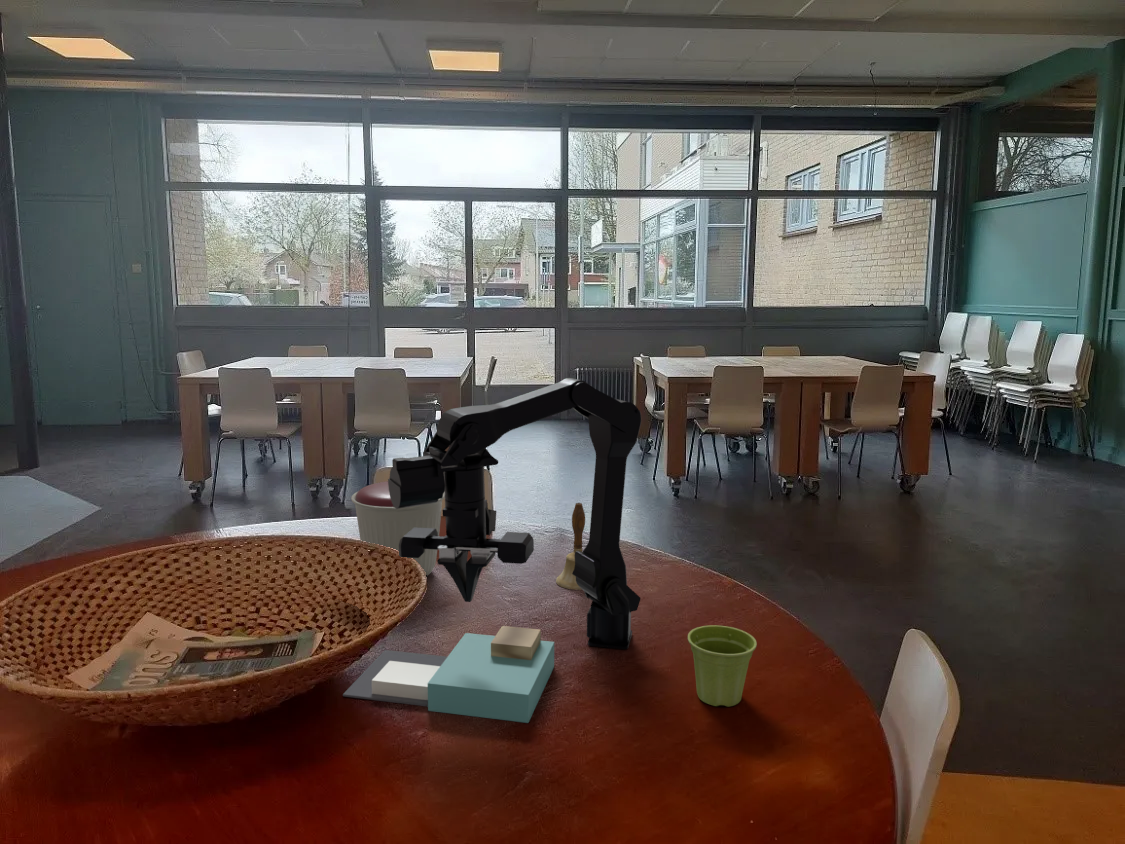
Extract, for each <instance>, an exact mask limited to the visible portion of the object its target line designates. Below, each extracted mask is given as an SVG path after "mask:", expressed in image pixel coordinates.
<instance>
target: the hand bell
mask: <svg viewBox="0 0 1125 844" xmlns="http://www.w3.org/2000/svg"><path fill="white" fill-rule="evenodd" d="M585 524H586V513H585V509H584V506H583V503H581V502H576V503H575V504H574V508H573V511H572V514H571V526H572V527H571V528H572V531H573V535H574V536H573V550H572V552H570V553H568V554H567V555H566V557H565V558H566V559H565V563H564V567H563V570H562V572H561V573H560V574H559V575H558V576H557V578H556V579H555V583H556V584H557V585H558V586H559V587H561V588H564V589H566V590H572V591H573V590H577V591H581V590H582V589H581V588H580V587H579V586H578V585H577V583H576V576H574V575H573V574H572V573H573V570H574V567H575V552H576V551H582V552H583V547H584V546H583V533H584V530H585V527H586V525H585ZM582 591H583V590H582Z"/></svg>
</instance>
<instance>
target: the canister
mask: <svg viewBox="0 0 1125 844" xmlns="http://www.w3.org/2000/svg"><path fill="white" fill-rule="evenodd" d="M388 479H390V476H389V477H388ZM350 498H351V502H352V503H353V504H354V506H355V512H356V513H355V515H356V520H357V526H358V533H359V534H358V535H359V539H360V540H362V541H366V542H370V543H375V544H379V545H383V546H386V547H390V548H393V549H396V550H398V551H399V542H400V539H401V538H402V537H403V536H405V535H406V534H407V533H408V532H409V531H411V530H412V529H413V528H435V529H436V530H437V532H438V536H440V529H441V518H442V510H443V509H442V507H443V500H445V493H443V497H442V498H440V499H439V500H438V501H437V502H436V503H431V504H425V505H418V506H412V507H405V508H399V509H396V508H395V507H394V506H393V504H392V501H391V498H390V494H389V487H388V480H387V481H381V482H376V483H372V484H369V485H366V486H364V487H362V488H361V489H359V490H358V491H356V492H354V493H353V494H352V495H351V497H350ZM360 540H359V541H360ZM437 556H438V550H436V549H425V552H424V553H423V554H422V555H421V556H420V557H419V558H413V559H415V560H416V561H417V562H418V563H419V564H420V565H421V567H422V568H423V569H424V571H425V572H426V575H427V576H426V577H428V576H429V575H430V574H431V573H432V572H433V571H434V569H435V565H436V562H437Z"/></svg>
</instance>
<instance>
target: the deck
mask: <svg viewBox="0 0 1125 844" xmlns="http://www.w3.org/2000/svg"><path fill="white" fill-rule="evenodd" d="M495 636H496V635H489V634H478V633H469V632H465V633H464V635H463V636H462V637H461V638H460V640H459V641H458V643H457V644H456V645H455V646H454V648H453V649H452V651H451V652H450V653H449V654H448V655H447V658H446V660H445V661H444V662H443V664H442V665H441V666H440V668H439V669H438V670H437V671H436V673H435V674H434V675H433V677H432V678H431V679H430V681H429V682H428V706H427V711H428V712H437V713H444V714H452V715H460V716H461V715H462V716H469V717H475V718H485V719H491V720H492V719H493V720H501V721H509V722H517V723H525V724H529V722H530V721H531V718H532V716H533V714H534V711H535V709H536V707H537V705H538V703H539V701H540V699H541V696H542V695H543V692H544V690H545V688H546V685H547V683H548V681H549V679H550V676H551V675H552V672H553V670H554V668H555V641H550V640H549V641H548V640H541V642H540V644H539V646H538V648H537V650H536V652H535V654H534V656H533V658H532V659H531V660H525V659H515V658H506V657H496V656H491V642H492V640H493V639H494V637H495Z"/></svg>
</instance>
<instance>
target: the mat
mask: <svg viewBox="0 0 1125 844" xmlns="http://www.w3.org/2000/svg"><path fill="white" fill-rule="evenodd" d="M447 657H448V655H447V656H445V655H437V654H426V653H417V652H410V651H409V652H406V651H398V650H388V649H384V650H383V651H382V652H381V654H379V656H378V657H377V658H376V659H375V660H374V661H373V662H372V663H371V664H370V665H369V666H368V667H367V668H366V669H365V670H364V672H363V673H362V674H361V675H360V676H358V678H357V679H356V680H355V681H354V682H353V683H352V684H351V685H350V686H349V687H348V688H347V690H345V691H344V693H343V694H342V696H343V697H346V698H354V699H362V700H363V699H364V700H372V701H379V702H388V703H397V704H402V705H403V704H405V705H411V706H412V705H414V706H421V707H428V700H421V699H413V698H405V697H396V696H388V695H380V694H372V679H373V678H374V677H375V676H376V675H377V674H378V673H379V672H380V671H381V670H382V669H383V667H384V666H385V665H386V664H387V663H388V662H389V661H397V662H406V663H415V664H424V665H433V666H441V665H442V664H443V662H444V661H445V660H446V658H447Z"/></svg>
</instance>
